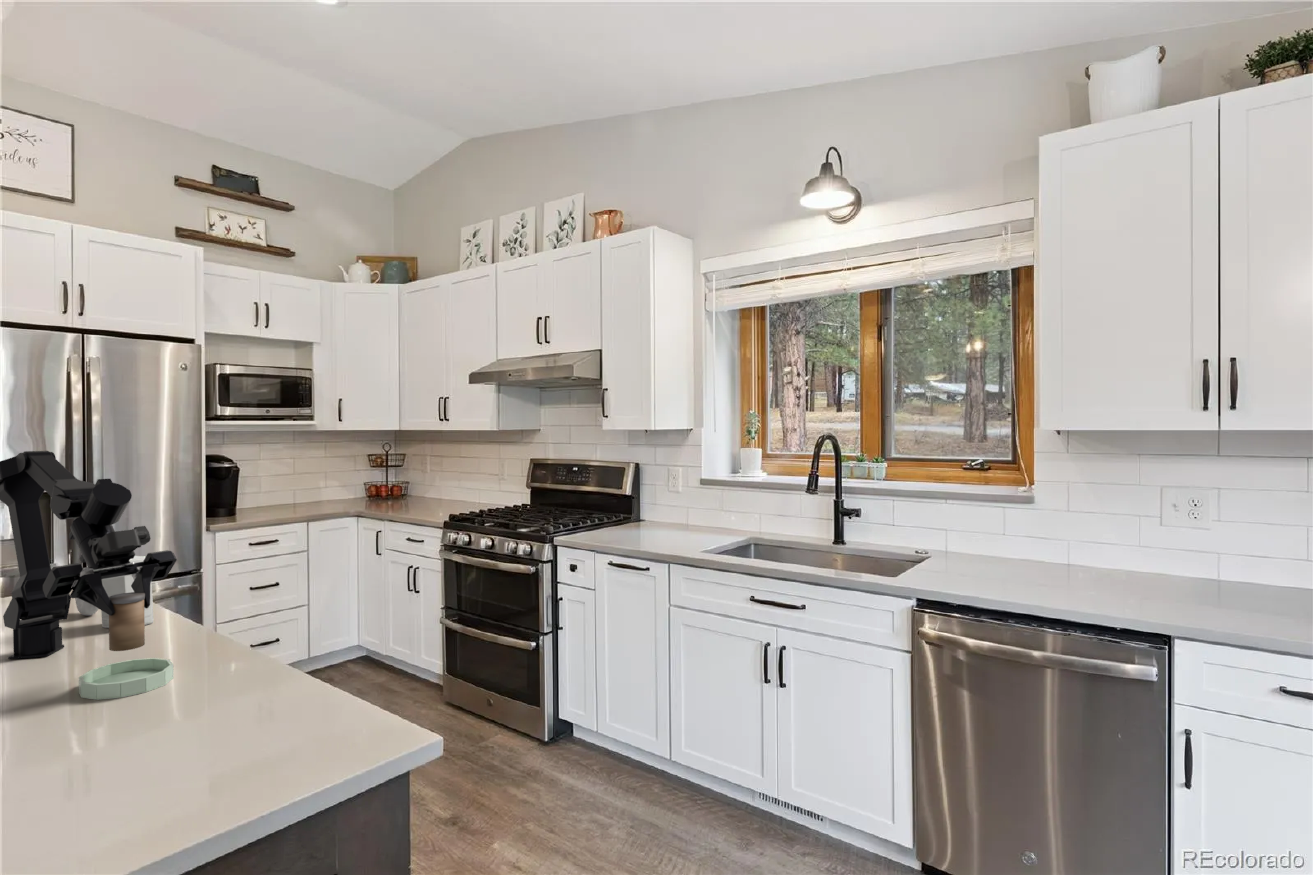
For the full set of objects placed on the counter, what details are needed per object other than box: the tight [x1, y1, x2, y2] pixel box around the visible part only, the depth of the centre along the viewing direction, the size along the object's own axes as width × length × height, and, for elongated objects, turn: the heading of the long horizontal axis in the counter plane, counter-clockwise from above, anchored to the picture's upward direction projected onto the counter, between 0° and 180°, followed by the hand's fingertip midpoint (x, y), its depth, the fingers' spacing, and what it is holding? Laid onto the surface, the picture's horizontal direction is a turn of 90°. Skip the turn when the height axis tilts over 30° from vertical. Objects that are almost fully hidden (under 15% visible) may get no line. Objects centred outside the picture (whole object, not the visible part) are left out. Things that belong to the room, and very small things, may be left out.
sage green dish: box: [78, 657, 174, 701], centre depth 124 cm, size 13×13×2 cm
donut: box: [74, 598, 99, 617], centre depth 168 cm, size 10×4×10 cm, turn 52°
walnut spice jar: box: [108, 592, 146, 652], centre depth 124 cm, size 5×5×9 cm
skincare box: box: [100, 555, 155, 629], centre depth 159 cm, size 8×7×16 cm
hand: (130, 610), depth 123 cm, fingers closed on walnut spice jar, 5 cm apart
